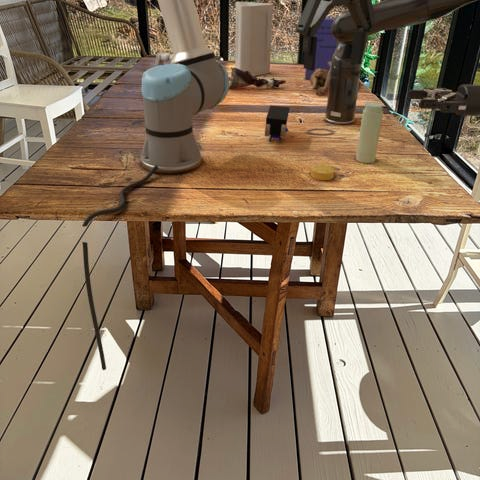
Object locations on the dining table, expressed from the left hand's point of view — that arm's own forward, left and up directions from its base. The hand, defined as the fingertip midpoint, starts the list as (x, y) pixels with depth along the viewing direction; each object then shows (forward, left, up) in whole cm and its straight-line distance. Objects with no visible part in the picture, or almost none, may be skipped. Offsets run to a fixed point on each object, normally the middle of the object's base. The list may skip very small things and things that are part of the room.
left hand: (333, 66), depth 104 cm
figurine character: (+26, +14, -26) cm, 39 cm away
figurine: (+82, +34, -26) cm, 92 cm away
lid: (0, 0, -24) cm, 24 cm away
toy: (+114, +67, -26) cm, 135 cm away
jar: (+13, -11, -26) cm, 31 cm away
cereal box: (+108, +3, -26) cm, 111 cm away
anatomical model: (+84, +4, -26) cm, 88 cm away
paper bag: (+112, +36, -26) cm, 120 cm away
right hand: (+16, -21, -10) cm, 28 cm away
